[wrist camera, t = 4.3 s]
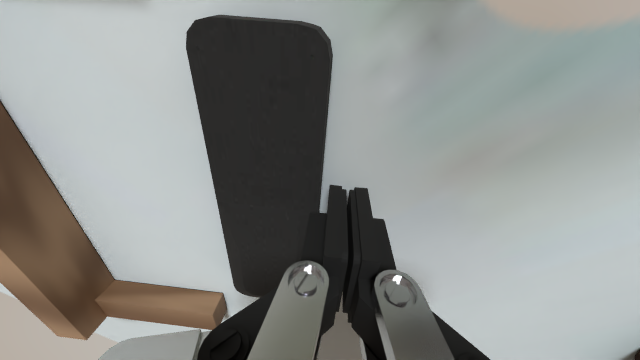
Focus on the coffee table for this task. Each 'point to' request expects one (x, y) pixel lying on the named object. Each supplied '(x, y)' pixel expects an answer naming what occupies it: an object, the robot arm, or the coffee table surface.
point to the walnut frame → (73, 259)
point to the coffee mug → (637, 355)
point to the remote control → (262, 135)
